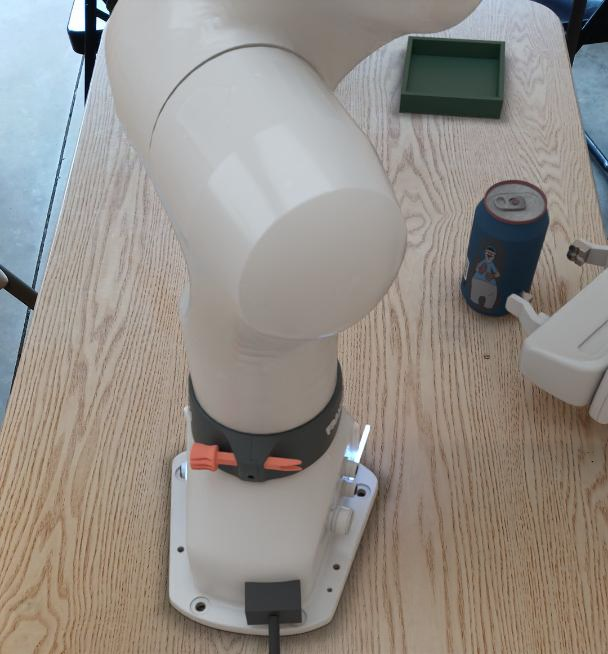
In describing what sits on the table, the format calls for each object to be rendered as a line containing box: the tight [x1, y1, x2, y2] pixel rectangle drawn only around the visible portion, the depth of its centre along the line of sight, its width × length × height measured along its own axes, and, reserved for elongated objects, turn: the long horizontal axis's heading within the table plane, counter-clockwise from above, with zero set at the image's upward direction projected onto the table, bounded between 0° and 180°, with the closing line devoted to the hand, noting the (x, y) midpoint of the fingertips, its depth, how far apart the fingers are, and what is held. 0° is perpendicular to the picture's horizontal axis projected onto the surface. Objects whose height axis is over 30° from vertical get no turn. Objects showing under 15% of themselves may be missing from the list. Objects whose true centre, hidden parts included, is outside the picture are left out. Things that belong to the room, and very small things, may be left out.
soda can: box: [460, 179, 551, 319], centre depth 81 cm, size 7×7×12 cm
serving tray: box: [398, 35, 506, 120], centre depth 103 cm, size 12×12×2 cm
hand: (542, 271), depth 79 cm, fingers open, 8 cm apart
